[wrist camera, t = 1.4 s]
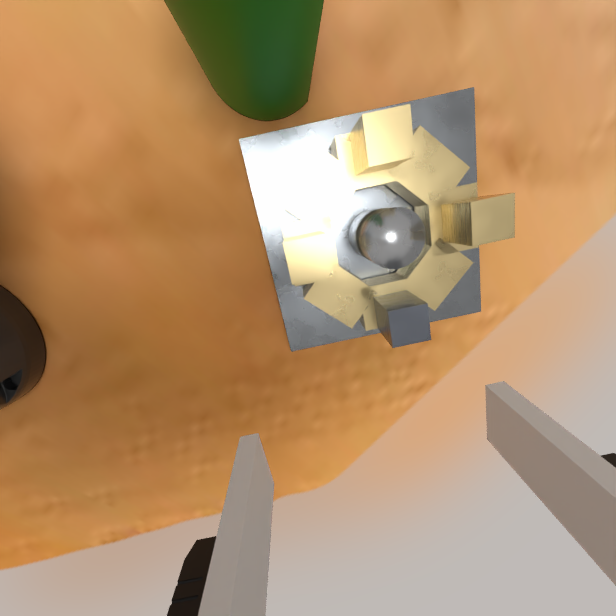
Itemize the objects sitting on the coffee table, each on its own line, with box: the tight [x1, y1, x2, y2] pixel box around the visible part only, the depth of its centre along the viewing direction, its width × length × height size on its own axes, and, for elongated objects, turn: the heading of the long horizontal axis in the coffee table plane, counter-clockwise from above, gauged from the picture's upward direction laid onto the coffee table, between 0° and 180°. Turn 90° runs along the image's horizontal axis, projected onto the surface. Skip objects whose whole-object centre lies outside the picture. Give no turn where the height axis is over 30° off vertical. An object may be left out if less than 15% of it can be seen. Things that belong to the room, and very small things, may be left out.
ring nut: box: [281, 104, 515, 348], centre depth 24 cm, size 16×16×7 cm
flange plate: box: [239, 87, 481, 351], centre depth 25 cm, size 20×20×8 cm
